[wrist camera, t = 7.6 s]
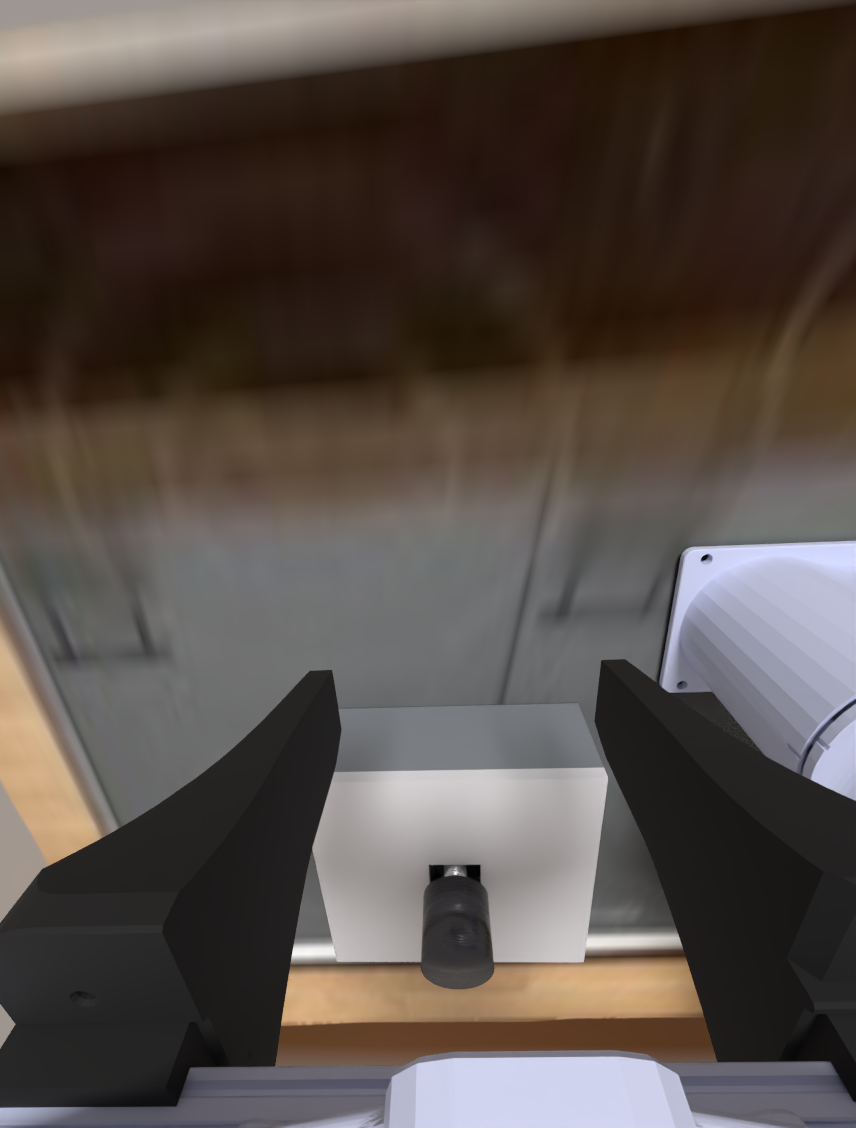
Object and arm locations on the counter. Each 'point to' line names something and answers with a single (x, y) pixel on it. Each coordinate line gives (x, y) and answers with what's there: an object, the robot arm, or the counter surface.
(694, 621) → the robot arm
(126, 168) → the counter surface
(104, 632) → the counter surface
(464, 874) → the plunger
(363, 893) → the slotted white block
